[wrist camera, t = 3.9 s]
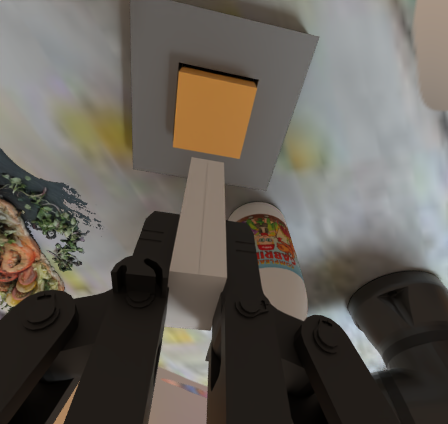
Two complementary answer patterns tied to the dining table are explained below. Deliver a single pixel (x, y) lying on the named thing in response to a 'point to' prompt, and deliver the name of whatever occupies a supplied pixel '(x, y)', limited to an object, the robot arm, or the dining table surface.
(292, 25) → the dining table surface
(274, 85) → the grey square slab
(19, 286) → the plated dish
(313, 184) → the dining table surface
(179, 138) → the button
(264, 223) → the milk bottle
